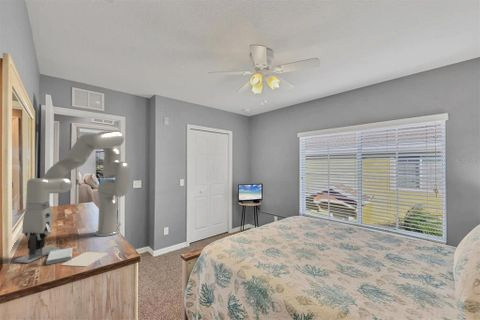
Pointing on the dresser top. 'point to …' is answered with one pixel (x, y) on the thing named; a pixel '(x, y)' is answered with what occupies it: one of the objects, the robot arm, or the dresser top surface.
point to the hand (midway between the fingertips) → (36, 247)
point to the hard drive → (59, 255)
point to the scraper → (35, 251)
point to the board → (85, 259)
